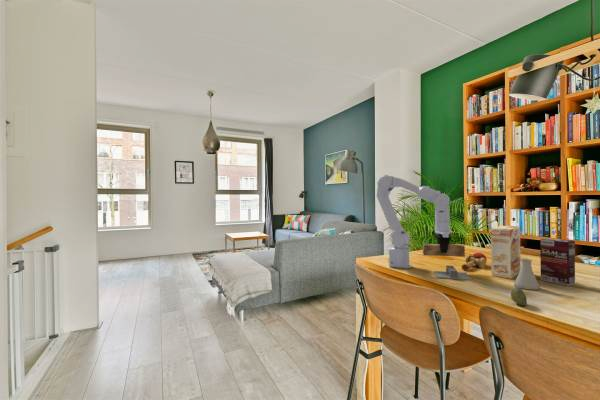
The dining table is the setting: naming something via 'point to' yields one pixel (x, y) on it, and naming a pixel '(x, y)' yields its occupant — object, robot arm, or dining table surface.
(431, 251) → the beam
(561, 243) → the supplement box
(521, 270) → the flask
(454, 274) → the fulcrum
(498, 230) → the coffeecake box
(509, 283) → the dining table surface
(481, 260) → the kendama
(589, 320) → the dining table surface
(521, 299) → the lime
